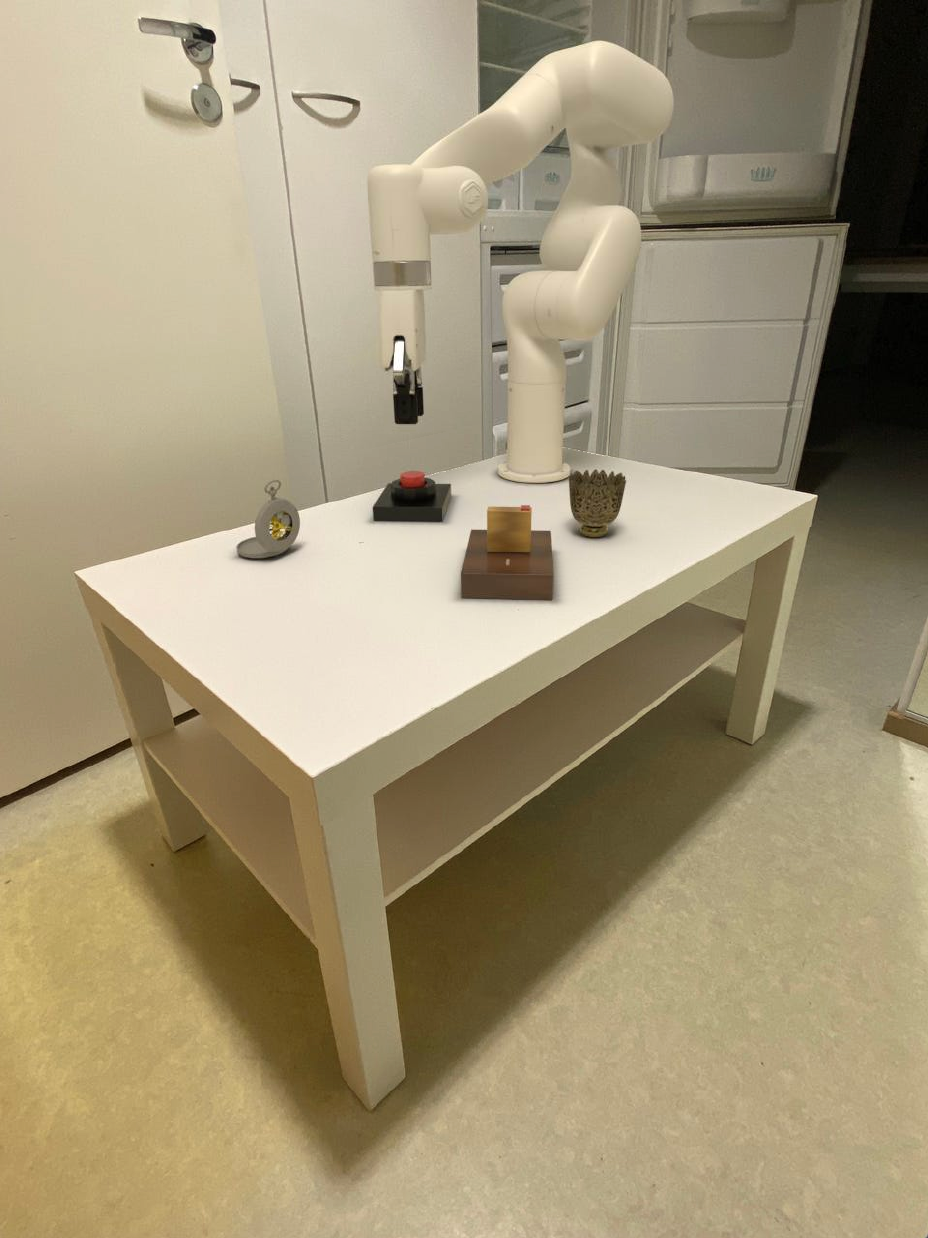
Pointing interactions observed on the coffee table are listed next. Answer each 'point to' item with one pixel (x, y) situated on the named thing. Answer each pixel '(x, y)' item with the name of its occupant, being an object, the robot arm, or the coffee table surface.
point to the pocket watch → (280, 517)
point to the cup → (595, 500)
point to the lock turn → (509, 529)
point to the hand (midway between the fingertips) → (409, 418)
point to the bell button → (412, 479)
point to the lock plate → (508, 570)
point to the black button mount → (412, 502)
